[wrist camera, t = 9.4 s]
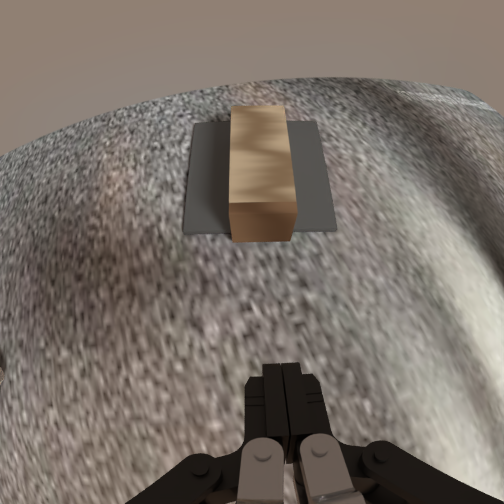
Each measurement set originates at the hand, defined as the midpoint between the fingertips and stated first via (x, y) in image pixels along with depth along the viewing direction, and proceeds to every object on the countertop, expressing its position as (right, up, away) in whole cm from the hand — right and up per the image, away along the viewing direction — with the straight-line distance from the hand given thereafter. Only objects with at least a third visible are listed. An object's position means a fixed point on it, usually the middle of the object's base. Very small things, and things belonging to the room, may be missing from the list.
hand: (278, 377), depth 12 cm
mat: (0, +13, +18) cm, 23 cm away
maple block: (0, +7, +12) cm, 14 cm away
